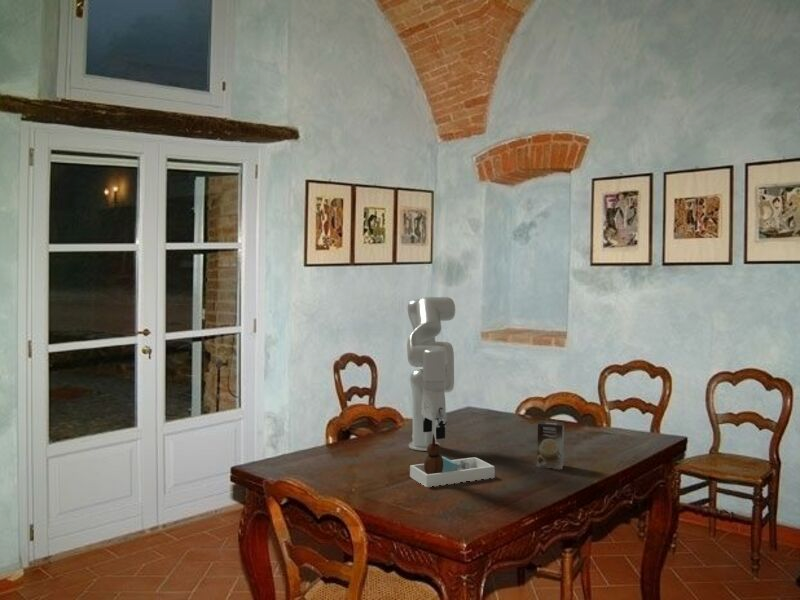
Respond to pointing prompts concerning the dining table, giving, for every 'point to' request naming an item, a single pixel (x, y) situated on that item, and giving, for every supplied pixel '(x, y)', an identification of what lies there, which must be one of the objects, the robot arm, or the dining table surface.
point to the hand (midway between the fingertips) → (433, 435)
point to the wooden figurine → (433, 459)
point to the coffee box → (550, 444)
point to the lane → (454, 473)
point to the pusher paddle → (453, 465)
